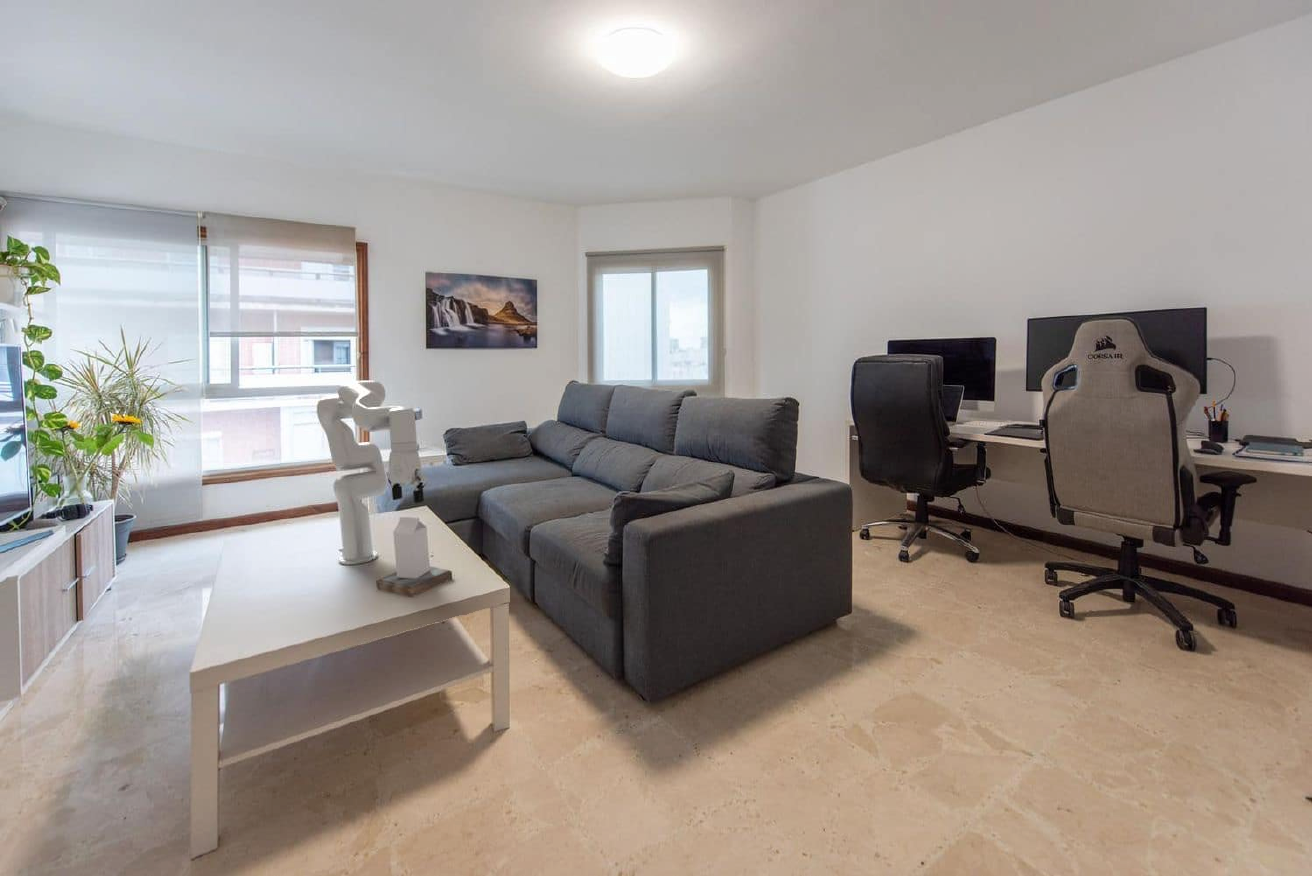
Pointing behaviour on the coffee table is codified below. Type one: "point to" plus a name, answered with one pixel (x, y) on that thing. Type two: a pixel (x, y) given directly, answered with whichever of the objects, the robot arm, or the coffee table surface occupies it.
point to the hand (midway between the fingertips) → (408, 500)
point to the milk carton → (411, 548)
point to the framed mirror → (414, 582)
